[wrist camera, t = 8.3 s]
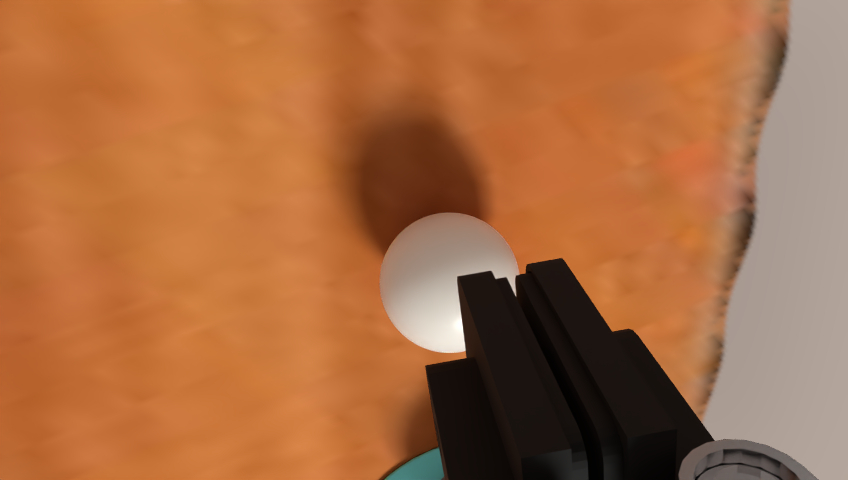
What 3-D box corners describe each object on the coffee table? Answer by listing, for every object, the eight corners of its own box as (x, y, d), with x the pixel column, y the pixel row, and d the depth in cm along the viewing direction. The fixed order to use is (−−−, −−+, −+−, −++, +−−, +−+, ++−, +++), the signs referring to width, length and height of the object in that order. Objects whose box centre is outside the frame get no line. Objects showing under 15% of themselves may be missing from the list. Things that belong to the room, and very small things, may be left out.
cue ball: (388, 374, 24) (392, 351, 29) (542, 350, 24) (517, 332, 29) (365, 219, 24) (373, 226, 29) (519, 196, 24) (498, 207, 29)
